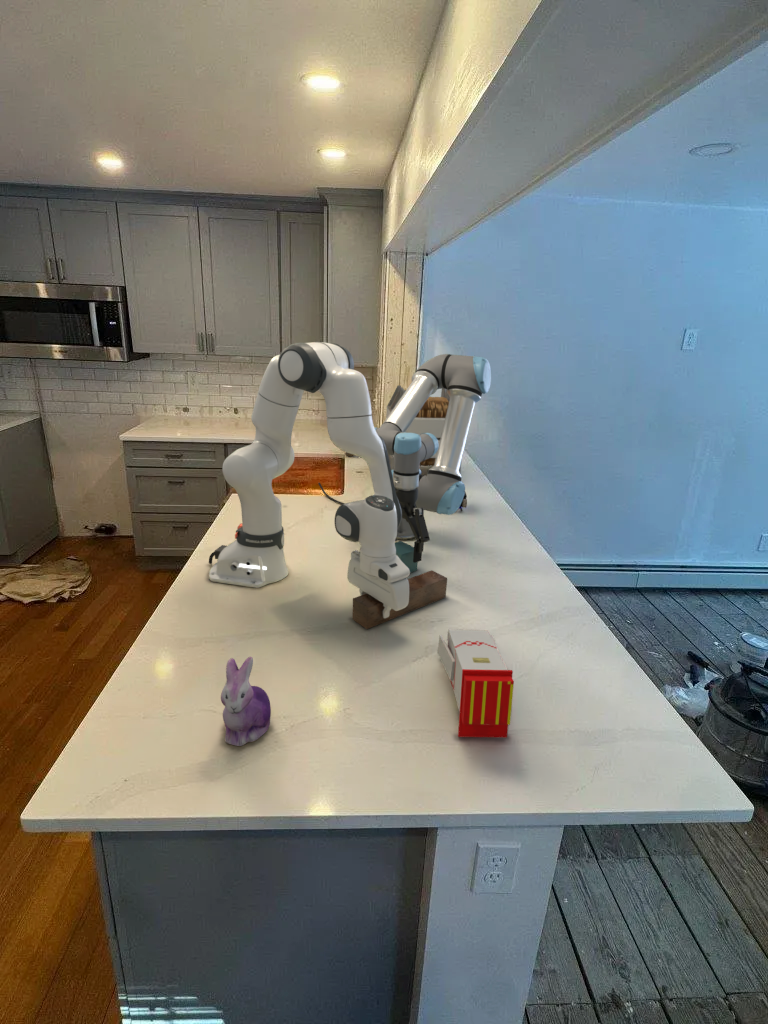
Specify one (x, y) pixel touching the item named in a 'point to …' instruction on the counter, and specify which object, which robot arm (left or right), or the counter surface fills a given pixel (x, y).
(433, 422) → the white storage bin
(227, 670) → the figurine
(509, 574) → the counter surface
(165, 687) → the counter surface
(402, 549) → the cap block
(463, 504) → the figurine character
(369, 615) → the plank
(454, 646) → the toy
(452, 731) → the counter surface
